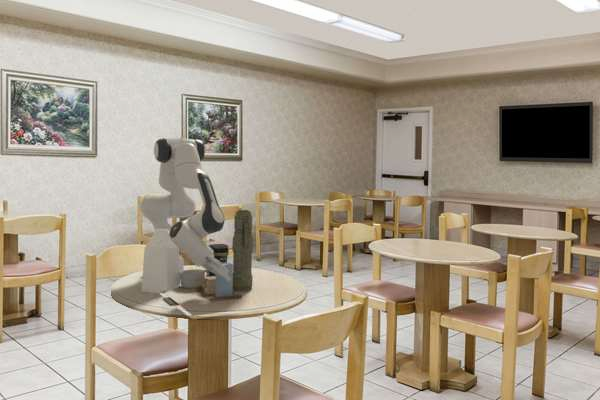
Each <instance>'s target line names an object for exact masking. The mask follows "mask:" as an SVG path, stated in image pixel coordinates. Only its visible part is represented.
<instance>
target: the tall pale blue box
mask: <svg viewBox="0 0 600 400" xmlns="http://www.w3.org/2000/svg"><path fill="white" fill-rule="evenodd" d="M223 265H224V266H225V267H226V268H227V269H228V270H229V273H228V275H229V277H230V278H231V280H230V282H228V281H226V280H225V278H222V277H220V276H218V275H216V280H215V296H216V297H225V296H232V293H233V291H234V290H233V263H230V262H227V263H224V264H223ZM218 268H219V267H218Z"/></svg>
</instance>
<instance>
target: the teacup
mask: <svg viewBox="0 0 600 400" xmlns="http://www.w3.org/2000/svg"><path fill="white" fill-rule="evenodd" d="M204 277H209V271H208V270H207V269H200V268H199V269H185V270H184V271H181V272H180V286H181V287H182V288H183V289H188V290H189V289H193V290H194V289H198V288H203V284H204Z"/></svg>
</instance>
